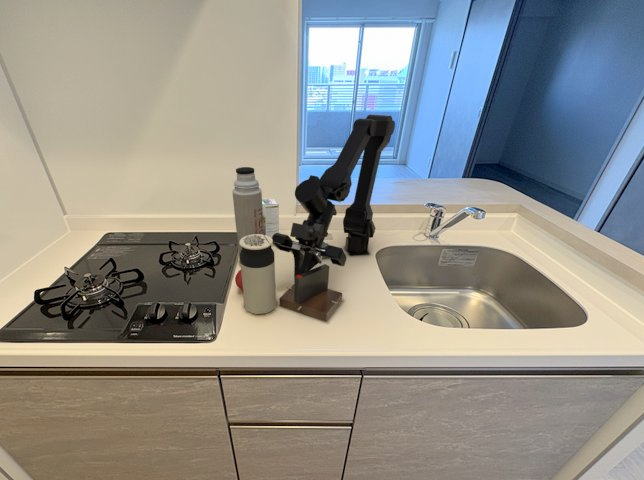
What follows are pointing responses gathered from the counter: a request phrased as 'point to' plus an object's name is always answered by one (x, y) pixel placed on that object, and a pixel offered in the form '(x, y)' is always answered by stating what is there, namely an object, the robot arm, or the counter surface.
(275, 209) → the syrup box
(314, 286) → the lever
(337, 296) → the brown wooden base
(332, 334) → the counter surface
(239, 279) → the onion
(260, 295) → the travel mug
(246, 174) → the thermos bottle
